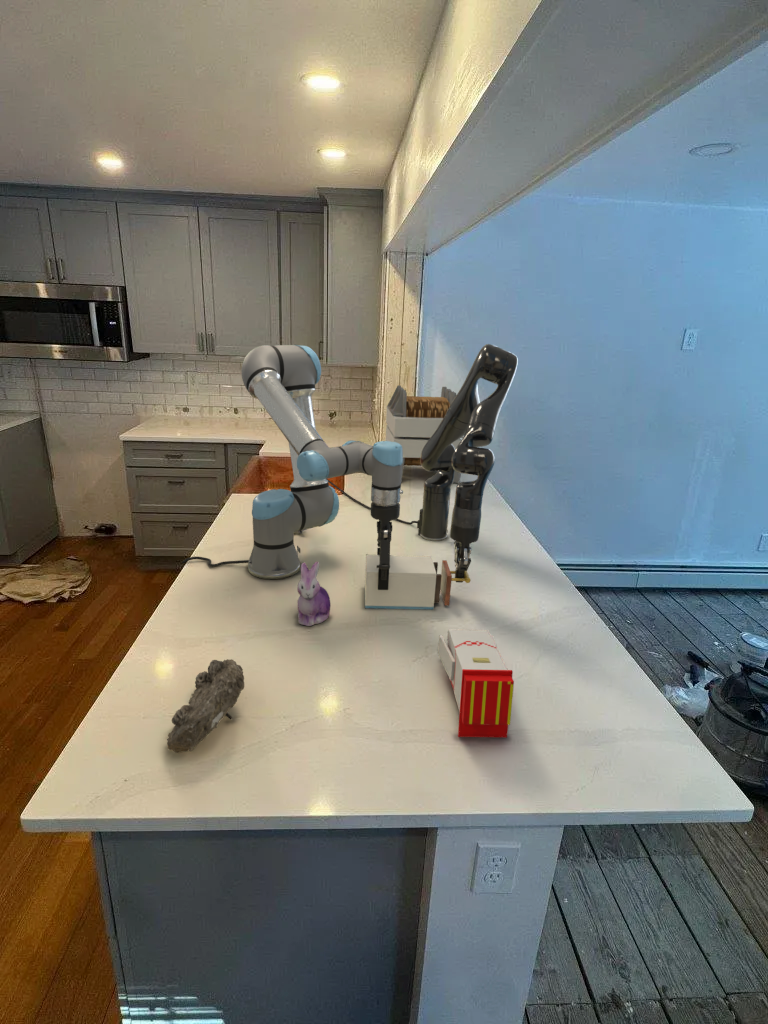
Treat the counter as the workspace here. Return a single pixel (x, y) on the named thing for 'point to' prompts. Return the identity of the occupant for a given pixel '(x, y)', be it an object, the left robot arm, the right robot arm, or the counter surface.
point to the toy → (478, 682)
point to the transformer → (416, 423)
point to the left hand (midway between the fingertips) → (382, 579)
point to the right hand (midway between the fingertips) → (458, 581)
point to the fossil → (206, 705)
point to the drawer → (446, 582)
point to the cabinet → (401, 583)
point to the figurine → (312, 597)
